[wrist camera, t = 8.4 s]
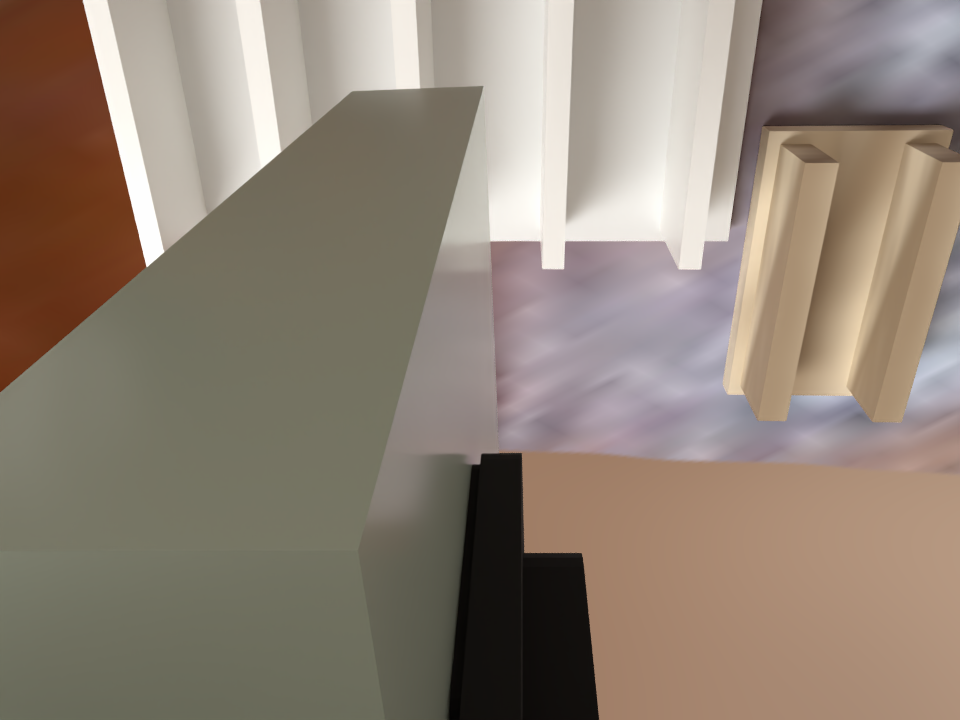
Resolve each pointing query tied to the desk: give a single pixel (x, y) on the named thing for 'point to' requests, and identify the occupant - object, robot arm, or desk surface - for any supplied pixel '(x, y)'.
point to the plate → (265, 444)
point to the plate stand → (842, 264)
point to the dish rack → (436, 64)
